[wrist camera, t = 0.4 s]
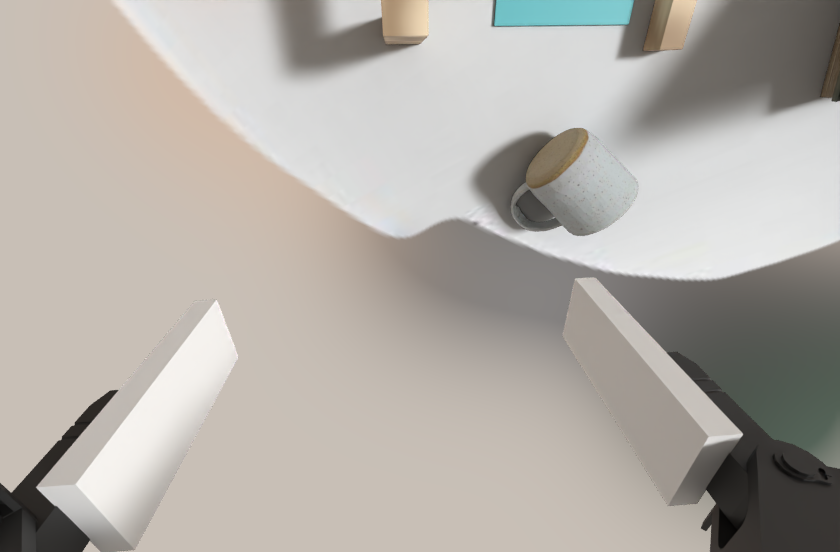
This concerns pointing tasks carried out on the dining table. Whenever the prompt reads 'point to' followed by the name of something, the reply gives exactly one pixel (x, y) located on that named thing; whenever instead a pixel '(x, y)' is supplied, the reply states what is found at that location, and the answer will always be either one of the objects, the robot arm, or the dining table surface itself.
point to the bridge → (404, 21)
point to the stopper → (669, 24)
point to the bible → (833, 73)
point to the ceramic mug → (577, 185)
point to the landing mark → (562, 12)
